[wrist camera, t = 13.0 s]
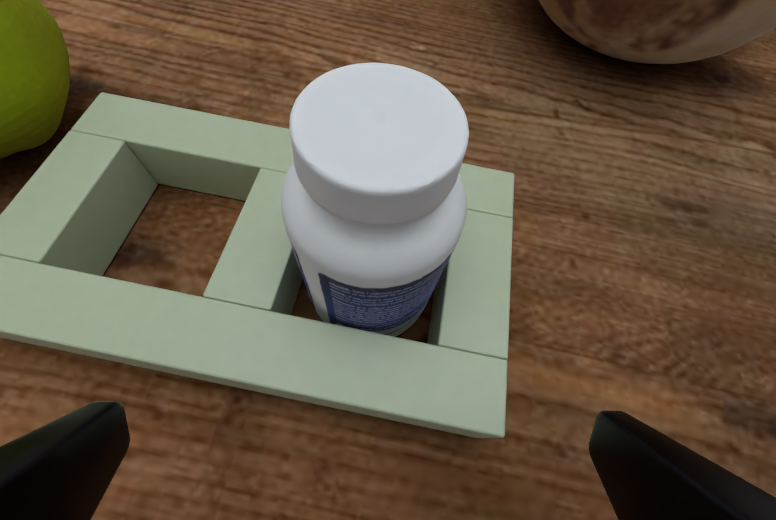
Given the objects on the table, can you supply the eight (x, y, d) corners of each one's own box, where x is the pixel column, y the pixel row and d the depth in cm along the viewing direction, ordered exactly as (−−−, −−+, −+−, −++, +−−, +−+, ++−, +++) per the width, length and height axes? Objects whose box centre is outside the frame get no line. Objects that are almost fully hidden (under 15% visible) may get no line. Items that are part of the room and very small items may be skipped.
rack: (477, 438, 14) (505, 438, 11) (-2, 337, 14) (-84, 313, 12) (493, 210, 19) (515, 172, 16) (135, 139, 19) (100, 91, 17)
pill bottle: (450, 285, 17) (547, 122, 8) (372, 372, 15) (390, 277, 6) (367, 216, 18) (374, 15, 10) (285, 287, 16) (200, 113, 8)
